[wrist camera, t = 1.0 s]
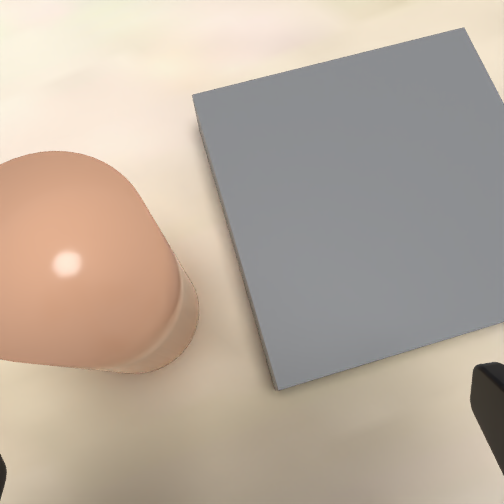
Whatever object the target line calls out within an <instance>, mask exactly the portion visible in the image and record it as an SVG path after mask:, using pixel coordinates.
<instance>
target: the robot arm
mask: <svg viewBox="0 0 504 504" xmlns="http://www.w3.org/2000/svg"><path fill="white" fill-rule="evenodd" d="M470 403H471V408H472V411H473V413H474V415H475V417H476V419H477V421H478V423H479V425H480V427H481V430H482V432H483V434H484V436H485V438H486V440H487V442H488V444H489V446H490V448H491V450H492V452H493V454H494V456H495V459H496V461H497V463H498V465H499V467H500V469H501V471H502V473H503V475H504V365H503V364H501V363H498V362H492V363H485V364H479V365H476V366H475V367H474V369H473V375H472V385H471V394H470ZM6 475H7V471H6V465H5V463H4V461H3V459H2V457H1V454H0V499H1V496H2V492H3V488H4V485H5V481H6Z"/></svg>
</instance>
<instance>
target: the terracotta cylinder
mask: <svg viewBox="0 0 504 504" xmlns="http://www.w3.org/2000/svg"><path fill="white" fill-rule="evenodd" d="M198 318H199V303H198V298H197V294H196V291H195V288H194V286H193V284H192V282H191V281H190V279H189V277H188V276H187V274H186V272H185V271H184V269H183V267H182V266H181V264H180V262H179V261H178V259H177V257H176V255H175V254H174V252H173V250H172V249H171V247H170V245H169V244H168V242H167V240H166V239H165V237H164V235H163V234H162V232H161V230H160V229H159V227H158V225H157V224H156V222H155V220H154V219H153V217H152V215H151V214H150V212H149V210H148V209H147V207H146V205H145V203H144V202H143V200H142V198H141V197H140V195H139V194H138V192H137V191H136V189H135V188H134V186H133V185H132V184H131V183H130V182H129V181H128V180H127V179H126V178H125V177H124V176H123V175H122V174H121V173H119V172H118V171H117V170H116V169H114V168H113V167H111V166H109V165H108V164H106V163H105V162H102V161H100V160H98V159H95V158H93V157H90V156H87V155H83V154H79V153H73V152H66V151H48V152H38V153H33V154H28V155H24V156H21V157H18V158H15V159H12V160H10V161H7V162H5V163H3V164H1V165H0V359H2V360H7V361H13V362H22V363H31V364H41V365H51V366H61V367H71V368H81V369H91V370H101V371H110V372H120V373H132V374H139V373H147V372H151V371H155V370H157V369H160V368H162V367H164V366H166V365H168V364H169V363H171V362H172V361H174V360H175V359H176V358H177V357H178V356H179V355H181V353H182V352H183V351H184V350H185V349H186V347H187V346H188V344H189V343H190V341H191V339H192V337H193V335H194V333H195V330H196V327H197V323H198Z"/></svg>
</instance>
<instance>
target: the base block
mask: <svg viewBox="0 0 504 504" xmlns="http://www.w3.org/2000/svg"><path fill="white" fill-rule="evenodd" d="M192 97H193V102H194V107H195V111H196V116H197V121H198V126H199V129H200V133H201V136H202V140H203V143H204V147H205V150H206V153H207V157H208V160H209V164H210V167H211V171H212V174H213V178H214V181H215V184H216V188H217V191H218V195H219V198H220V202H221V205H222V208H223V212H224V215H225V219H226V222H227V226H228V229H229V232H230V236H231V239H232V243H233V246H234V250H235V253H236V257H237V260H238V263H239V267H240V270H241V274H242V277H243V281H244V284H245V287H246V291H247V294H248V298H249V301H250V305H251V308H252V311H253V315H254V318H255V322H256V325H257V329H258V332H259V336H260V339H261V342H262V346H263V349H264V353H265V356H266V360H267V363H268V366H269V370H270V373H271V377H272V380H273V384H274V387H275V390H282V389H285V388H288V387H292V386H295V385H298V384H302V383H305V382H308V381H311V380H315V379H318V378H321V377H325V376H328V375H331V374H334V373H338V372H341V371H344V370H348V369H351V368H354V367H357V366H361V365H364V364H367V363H371V362H374V361H377V360H380V359H384V358H387V357H390V356H394V355H397V354H400V353H403V352H407V351H410V350H413V349H417V348H420V347H423V346H426V345H430V344H433V343H436V342H439V341H443V340H446V339H449V338H453V337H456V336H459V335H462V334H466V333H469V332H472V331H476V330H479V329H482V328H485V327H489V326H492V325H495V324H499V323H502V322H504V103H503V101H502V99H501V98H500V96H499V94H498V92H497V90H496V88H495V86H494V84H493V82H492V80H491V78H490V76H489V75H488V73H487V71H486V69H485V67H484V65H483V63H482V61H481V59H480V57H479V55H478V53H477V51H476V50H475V48H474V46H473V44H472V42H471V40H470V38H469V36H468V34H467V32H466V30H465V28H460V29H455V30H451V31H447V32H443V33H439V34H435V35H431V36H427V37H423V38H419V39H415V40H411V41H407V42H403V43H399V44H395V45H391V46H387V47H383V48H379V49H375V50H371V51H367V52H363V53H359V54H355V55H351V56H347V57H343V58H339V59H335V60H331V61H327V62H323V63H318V64H314V65H310V66H306V67H302V68H298V69H294V70H290V71H286V72H282V73H278V74H274V75H270V76H266V77H262V78H258V79H254V80H250V81H246V82H242V83H238V84H234V85H230V86H226V87H222V88H218V89H214V90H210V91H206V92H202V93H198V94H194V95H192Z"/></svg>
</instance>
